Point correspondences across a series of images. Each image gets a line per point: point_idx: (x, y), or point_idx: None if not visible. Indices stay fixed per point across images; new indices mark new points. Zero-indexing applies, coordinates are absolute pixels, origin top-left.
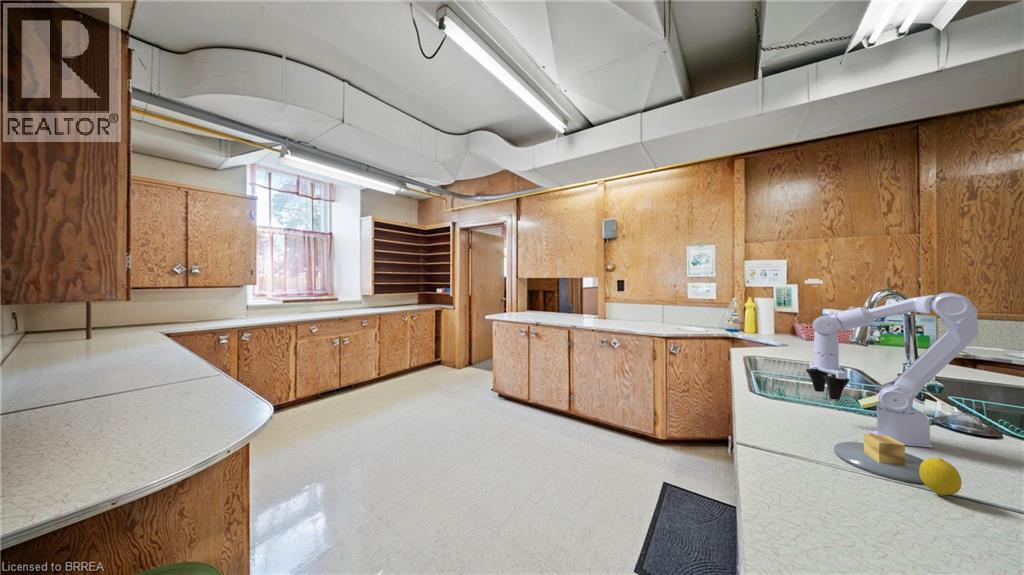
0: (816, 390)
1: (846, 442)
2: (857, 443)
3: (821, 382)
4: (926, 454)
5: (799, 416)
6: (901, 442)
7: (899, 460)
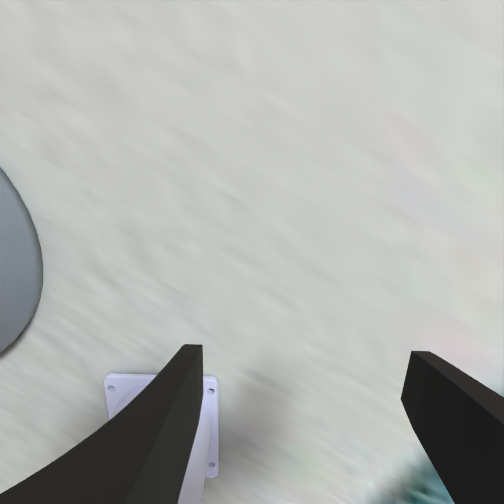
0: (416, 359)
1: (5, 203)
2: (13, 245)
3: (462, 476)
4: (56, 421)
5: (379, 197)
6: (113, 411)
7: None
